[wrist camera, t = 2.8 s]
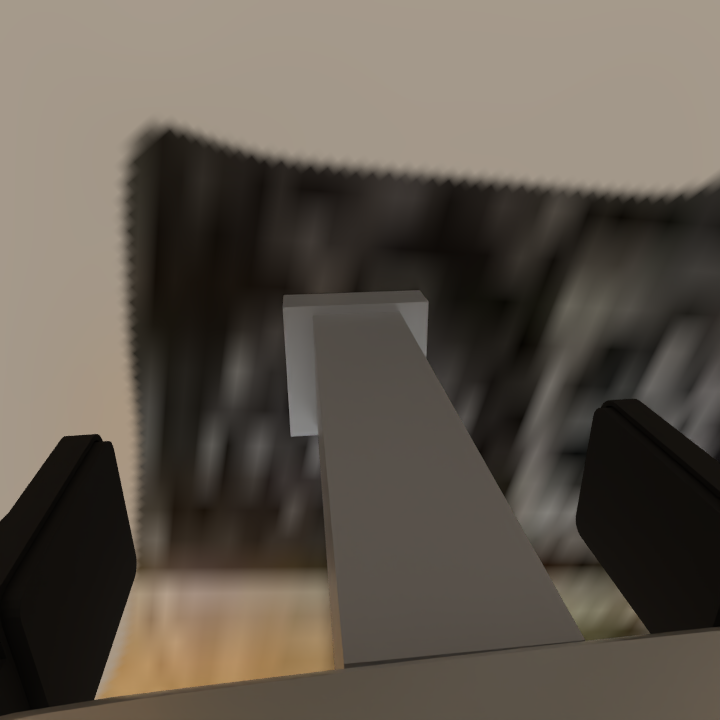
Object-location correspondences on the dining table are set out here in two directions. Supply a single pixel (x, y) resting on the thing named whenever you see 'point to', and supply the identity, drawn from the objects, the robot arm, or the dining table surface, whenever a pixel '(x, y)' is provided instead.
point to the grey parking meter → (407, 493)
